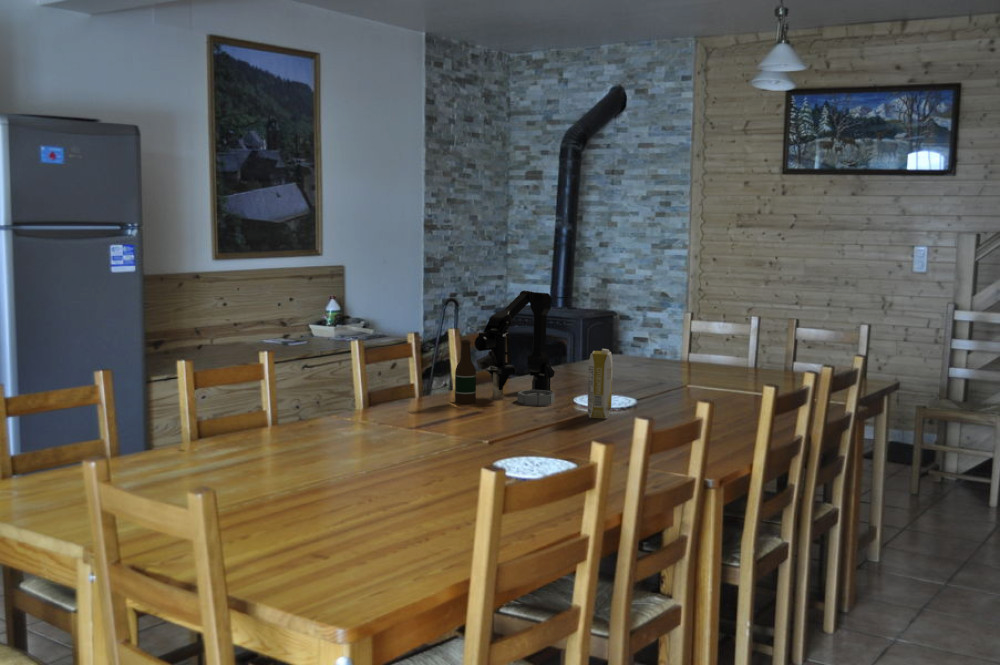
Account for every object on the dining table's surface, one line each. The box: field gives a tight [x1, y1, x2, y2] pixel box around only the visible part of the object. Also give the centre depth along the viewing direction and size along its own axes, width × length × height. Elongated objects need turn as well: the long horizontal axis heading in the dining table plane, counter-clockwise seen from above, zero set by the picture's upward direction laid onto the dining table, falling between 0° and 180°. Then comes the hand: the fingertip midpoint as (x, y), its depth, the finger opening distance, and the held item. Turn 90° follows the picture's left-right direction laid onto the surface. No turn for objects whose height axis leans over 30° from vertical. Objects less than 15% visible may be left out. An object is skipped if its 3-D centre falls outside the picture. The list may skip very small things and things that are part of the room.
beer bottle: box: [454, 339, 477, 405], centre depth 366 cm, size 8×8×24 cm
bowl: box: [517, 389, 556, 408], centre depth 370 cm, size 13×13×4 cm
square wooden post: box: [492, 372, 504, 399], centre depth 376 cm, size 3×3×10 cm
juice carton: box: [587, 348, 614, 420], centre depth 346 cm, size 9×8×24 cm
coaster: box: [482, 395, 514, 402], centre depth 376 cm, size 9×9×1 cm
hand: (498, 389), depth 376 cm, fingers open, 4 cm apart
